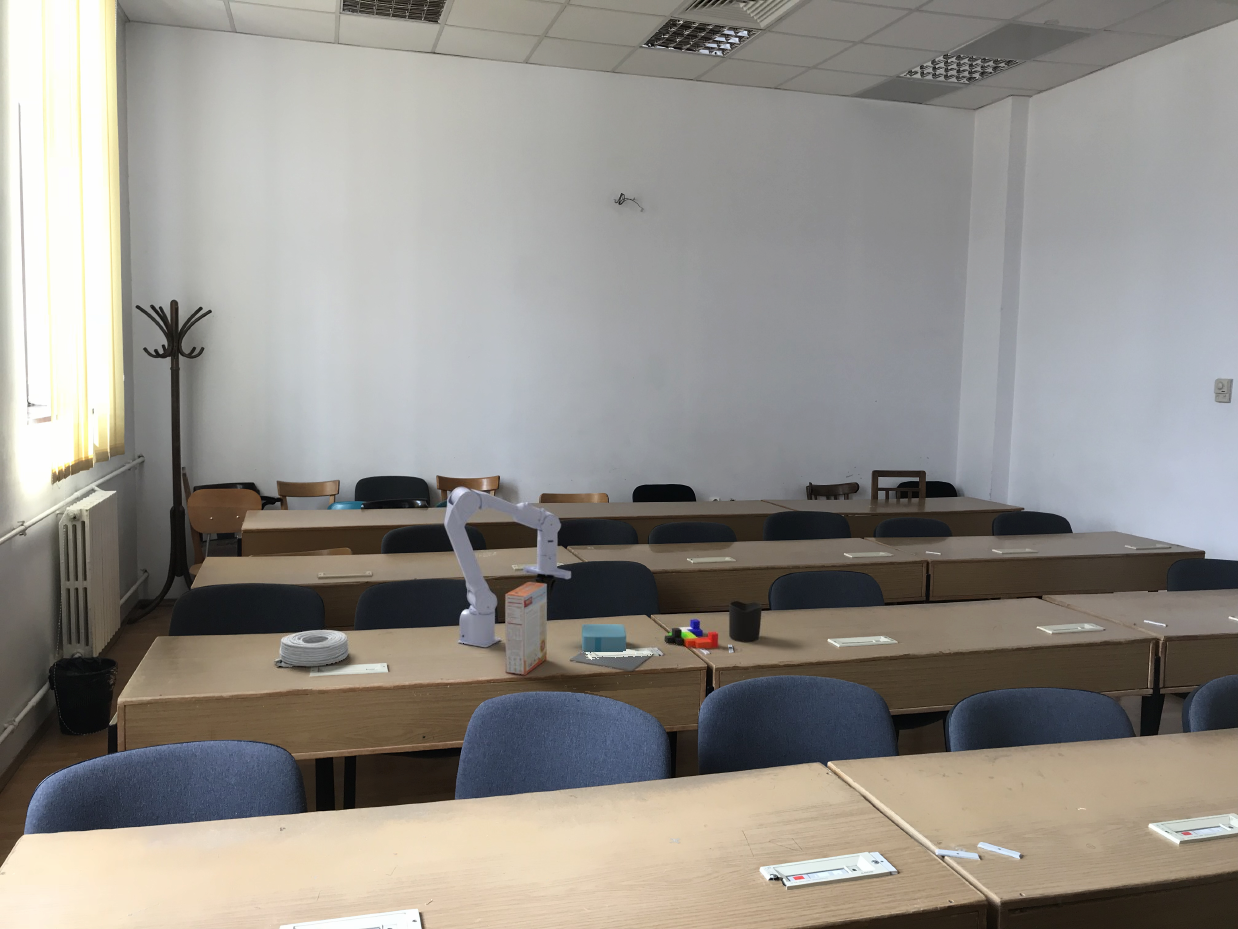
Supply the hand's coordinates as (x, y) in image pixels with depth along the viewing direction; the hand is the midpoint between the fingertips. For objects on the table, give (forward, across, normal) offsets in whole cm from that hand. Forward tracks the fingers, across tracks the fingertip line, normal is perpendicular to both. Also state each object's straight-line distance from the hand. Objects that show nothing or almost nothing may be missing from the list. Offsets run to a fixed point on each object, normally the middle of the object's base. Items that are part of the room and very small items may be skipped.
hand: (546, 600), depth 272 cm
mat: (+10, -25, +9) cm, 29 cm away
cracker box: (+11, -8, +26) cm, 29 cm away
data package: (+8, -14, +5) cm, 16 cm away
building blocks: (+11, -38, -14) cm, 42 cm away
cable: (+11, +45, +46) cm, 65 cm away
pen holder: (+11, -52, -25) cm, 59 cm away
